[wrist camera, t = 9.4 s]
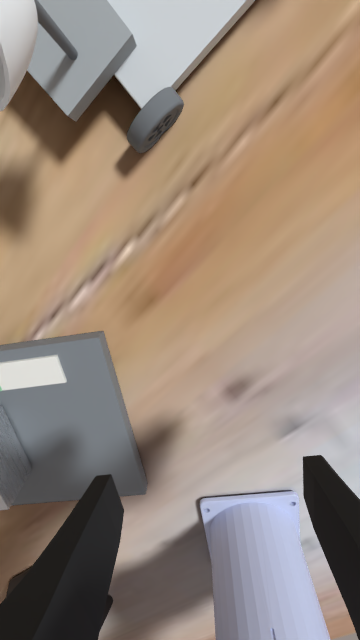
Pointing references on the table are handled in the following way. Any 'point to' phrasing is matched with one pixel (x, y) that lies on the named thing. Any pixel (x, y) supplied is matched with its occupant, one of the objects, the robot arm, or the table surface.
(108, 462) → the gauge base
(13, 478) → the plunger
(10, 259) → the table surface
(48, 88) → the toy car
